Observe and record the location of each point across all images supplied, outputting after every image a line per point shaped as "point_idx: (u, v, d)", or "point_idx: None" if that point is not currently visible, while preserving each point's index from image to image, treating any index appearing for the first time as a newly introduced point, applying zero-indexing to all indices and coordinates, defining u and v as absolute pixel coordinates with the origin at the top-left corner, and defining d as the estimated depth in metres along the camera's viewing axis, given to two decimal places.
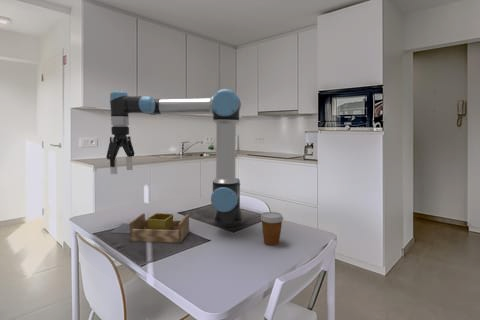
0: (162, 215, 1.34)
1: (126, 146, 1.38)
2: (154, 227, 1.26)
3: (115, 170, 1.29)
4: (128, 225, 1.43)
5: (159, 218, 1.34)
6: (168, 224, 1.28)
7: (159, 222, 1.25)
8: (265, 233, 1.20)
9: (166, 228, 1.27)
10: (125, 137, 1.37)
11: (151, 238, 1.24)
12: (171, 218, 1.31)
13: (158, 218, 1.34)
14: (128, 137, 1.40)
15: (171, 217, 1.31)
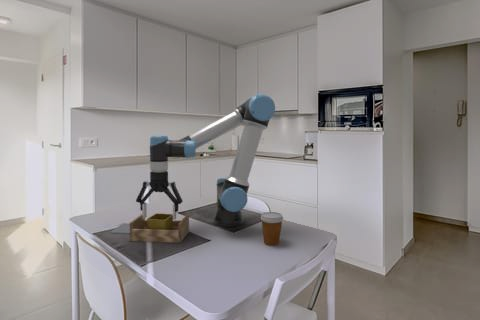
0: (162, 215, 1.34)
1: None
2: (154, 227, 1.26)
3: None
4: (128, 225, 1.43)
5: (159, 218, 1.34)
6: (168, 224, 1.28)
7: (159, 222, 1.25)
8: (265, 233, 1.20)
9: (166, 228, 1.27)
10: (163, 183, 1.27)
11: (151, 238, 1.24)
12: (171, 218, 1.31)
13: (158, 218, 1.34)
14: (171, 183, 1.27)
15: (171, 217, 1.31)
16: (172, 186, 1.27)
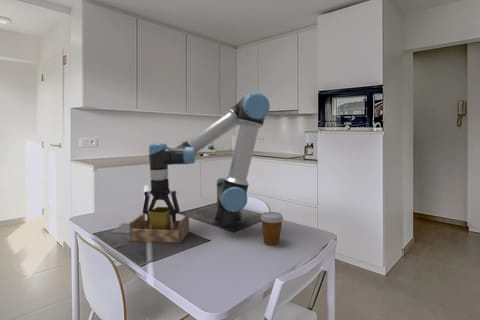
0: (163, 208, 1.34)
1: None
2: (155, 220, 1.26)
3: (150, 225, 1.30)
4: (128, 225, 1.43)
5: (160, 212, 1.34)
6: (169, 217, 1.28)
7: (160, 215, 1.25)
8: (265, 233, 1.20)
9: (167, 221, 1.27)
10: (164, 190, 1.27)
11: (151, 238, 1.24)
12: None
13: (159, 212, 1.34)
14: (172, 192, 1.27)
15: None
16: (172, 195, 1.27)
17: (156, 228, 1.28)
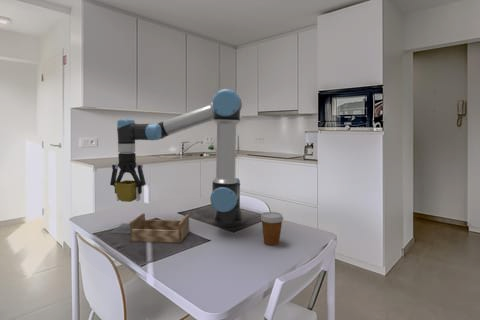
0: (130, 182, 1.42)
1: None
2: (121, 191, 1.34)
3: None
4: (128, 225, 1.43)
5: None
6: (134, 188, 1.36)
7: (125, 186, 1.33)
8: (265, 233, 1.20)
9: (132, 192, 1.35)
10: (131, 163, 1.35)
11: (151, 238, 1.24)
12: None
13: None
14: None
15: None
16: (138, 168, 1.35)
17: (122, 199, 1.36)
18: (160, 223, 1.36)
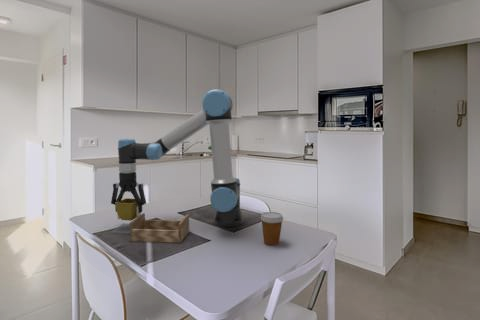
0: (131, 200, 1.43)
1: None
2: (122, 210, 1.35)
3: None
4: (128, 225, 1.43)
5: (128, 203, 1.43)
6: (135, 207, 1.37)
7: (126, 205, 1.34)
8: (265, 233, 1.20)
9: (133, 211, 1.36)
10: (132, 183, 1.36)
11: (151, 238, 1.24)
12: None
13: (127, 203, 1.43)
14: (139, 185, 1.36)
15: None
16: (139, 187, 1.36)
17: (123, 218, 1.36)
18: (160, 223, 1.36)
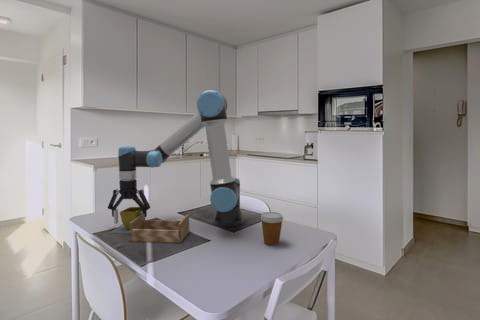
0: (135, 208, 1.43)
1: None
2: (127, 219, 1.35)
3: None
4: None
5: (132, 211, 1.43)
6: None
7: (131, 214, 1.34)
8: (265, 233, 1.20)
9: None
10: (132, 190, 1.37)
11: (151, 238, 1.24)
12: None
13: (131, 211, 1.43)
14: (139, 191, 1.37)
15: None
16: (140, 193, 1.36)
17: (128, 227, 1.37)
18: (160, 223, 1.36)
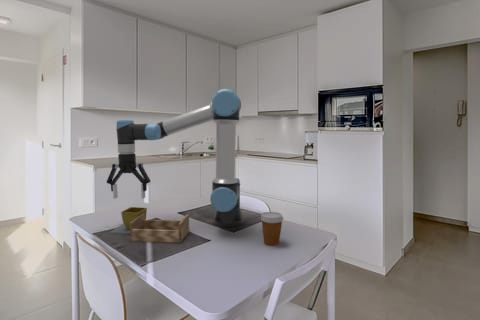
0: (136, 209, 1.43)
1: None
2: (128, 219, 1.35)
3: None
4: None
5: (133, 211, 1.43)
6: None
7: (132, 215, 1.34)
8: (265, 233, 1.20)
9: None
10: (131, 164, 1.35)
11: (151, 238, 1.24)
12: (144, 211, 1.40)
13: (132, 211, 1.43)
14: None
15: (144, 210, 1.40)
16: (139, 167, 1.35)
17: (129, 227, 1.37)
18: (160, 223, 1.36)
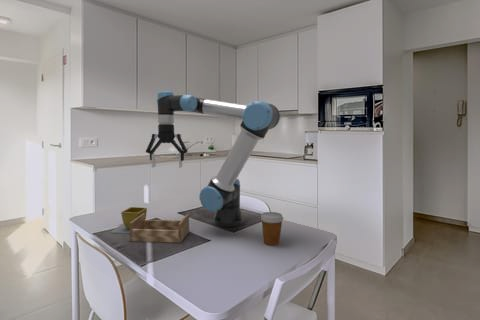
0: (136, 209, 1.43)
1: None
2: (128, 219, 1.35)
3: (152, 163, 1.44)
4: None
5: (133, 211, 1.43)
6: None
7: (132, 215, 1.34)
8: (265, 233, 1.20)
9: None
10: (170, 134, 1.42)
11: (151, 238, 1.24)
12: (144, 211, 1.40)
13: (132, 211, 1.43)
14: (177, 135, 1.42)
15: (144, 210, 1.40)
16: (178, 137, 1.42)
17: (129, 227, 1.37)
18: (160, 223, 1.36)
